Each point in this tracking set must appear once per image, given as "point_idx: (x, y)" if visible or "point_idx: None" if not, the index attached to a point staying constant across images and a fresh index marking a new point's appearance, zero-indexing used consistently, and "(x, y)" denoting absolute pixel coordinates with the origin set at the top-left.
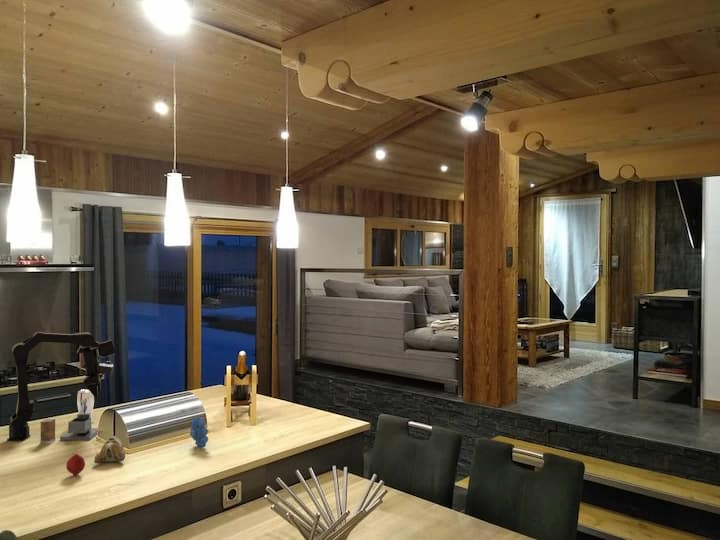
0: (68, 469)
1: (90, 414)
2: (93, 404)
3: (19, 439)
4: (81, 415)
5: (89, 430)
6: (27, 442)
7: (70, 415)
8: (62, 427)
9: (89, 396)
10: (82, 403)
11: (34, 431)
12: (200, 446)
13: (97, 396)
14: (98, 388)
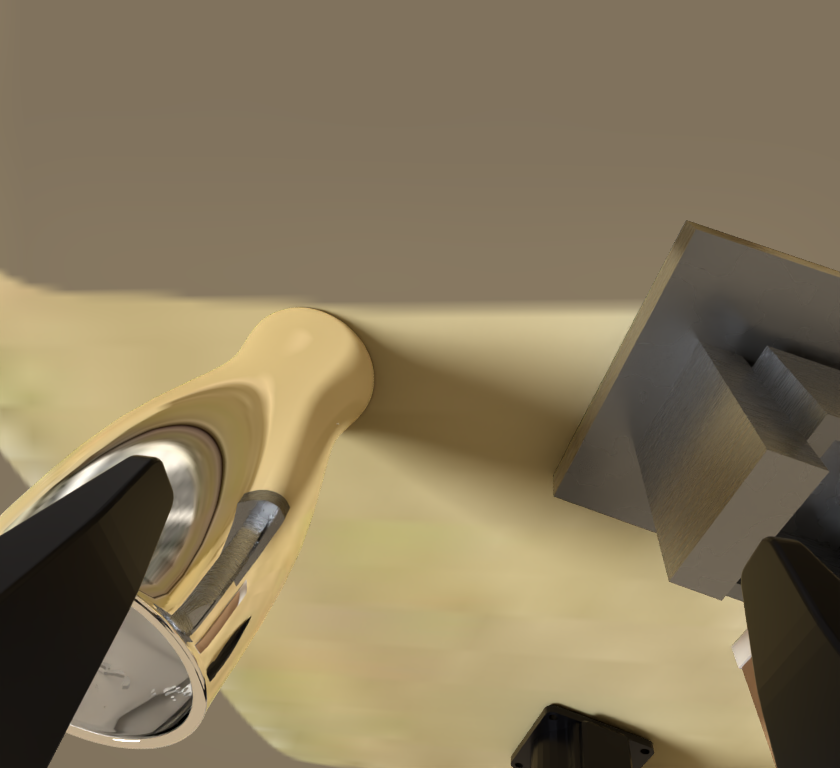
0: None
1: (771, 443)
2: (212, 398)
3: (645, 761)
4: (751, 548)
5: (741, 352)
6: (713, 724)
7: (42, 471)
8: (383, 532)
9: (216, 553)
10: (296, 558)
11: (434, 674)
12: None
13: (807, 550)
14: (117, 548)
